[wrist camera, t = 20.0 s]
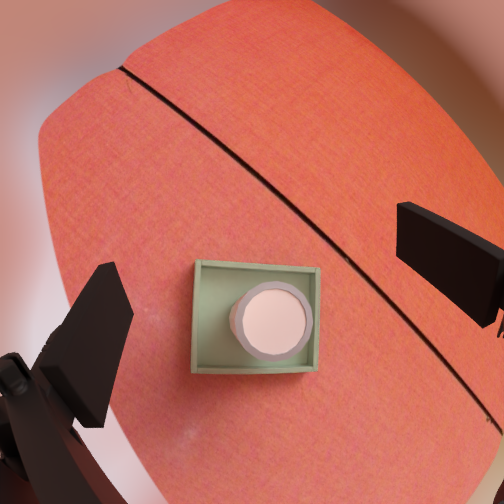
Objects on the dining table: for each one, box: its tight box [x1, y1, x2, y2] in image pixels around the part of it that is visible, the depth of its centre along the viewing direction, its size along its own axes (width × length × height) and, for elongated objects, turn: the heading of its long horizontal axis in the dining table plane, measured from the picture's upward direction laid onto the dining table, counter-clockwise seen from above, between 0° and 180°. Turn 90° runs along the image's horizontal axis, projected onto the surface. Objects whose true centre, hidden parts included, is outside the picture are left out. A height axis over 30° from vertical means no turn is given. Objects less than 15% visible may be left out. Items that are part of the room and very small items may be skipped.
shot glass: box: [229, 281, 313, 362], centre depth 29 cm, size 7×7×7 cm
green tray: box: [190, 259, 320, 374], centre depth 31 cm, size 13×11×2 cm
